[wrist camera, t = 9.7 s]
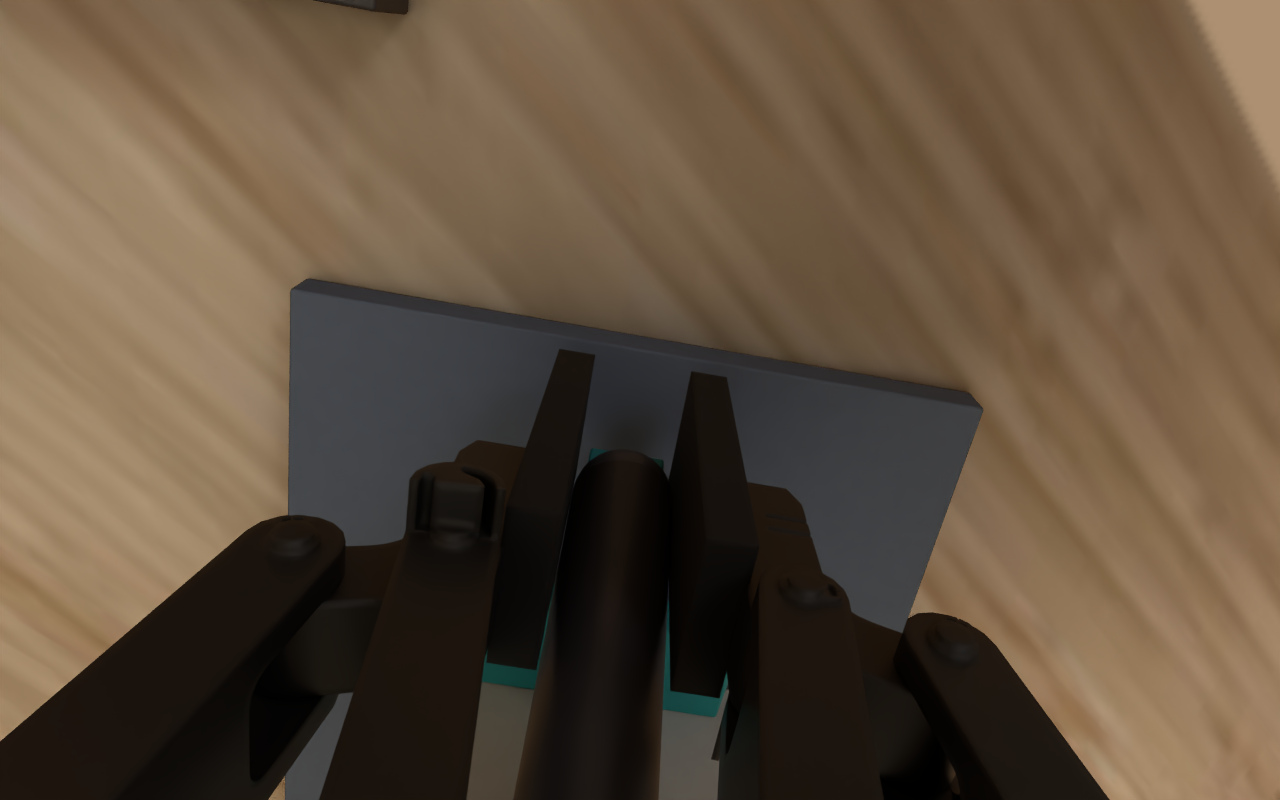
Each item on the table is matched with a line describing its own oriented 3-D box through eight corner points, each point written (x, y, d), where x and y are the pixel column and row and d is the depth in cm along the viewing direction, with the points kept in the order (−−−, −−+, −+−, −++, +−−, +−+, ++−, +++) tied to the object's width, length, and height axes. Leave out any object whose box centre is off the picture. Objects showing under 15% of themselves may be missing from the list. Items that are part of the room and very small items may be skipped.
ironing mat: (971, 392, 20) (985, 409, 20) (738, 1048, 31) (741, 1079, 30) (306, 277, 20) (289, 288, 19) (293, 986, 30) (281, 1017, 29)
